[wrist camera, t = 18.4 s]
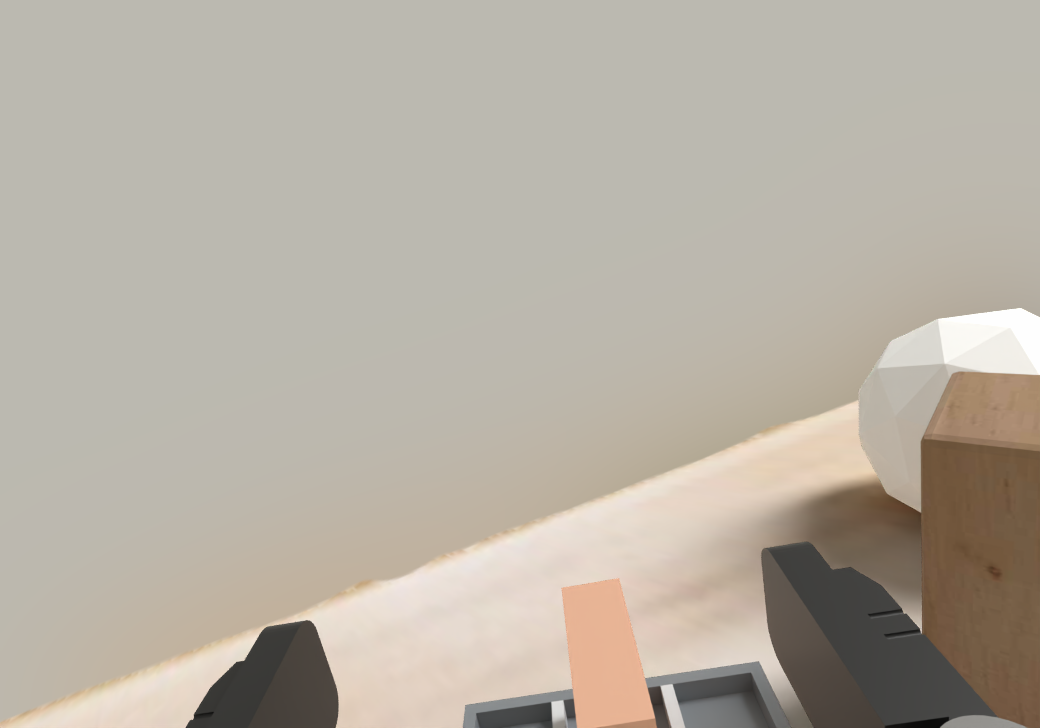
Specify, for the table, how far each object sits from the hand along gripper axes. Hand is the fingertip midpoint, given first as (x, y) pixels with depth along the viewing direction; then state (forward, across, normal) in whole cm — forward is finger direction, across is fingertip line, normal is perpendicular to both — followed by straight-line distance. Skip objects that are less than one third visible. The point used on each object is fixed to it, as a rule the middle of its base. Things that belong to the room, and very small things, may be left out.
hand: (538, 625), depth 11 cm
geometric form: (+38, -36, +28) cm, 60 cm away
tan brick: (+17, -1, +27) cm, 32 cm away
